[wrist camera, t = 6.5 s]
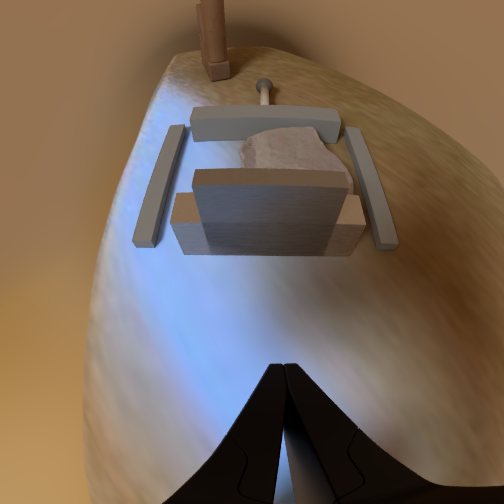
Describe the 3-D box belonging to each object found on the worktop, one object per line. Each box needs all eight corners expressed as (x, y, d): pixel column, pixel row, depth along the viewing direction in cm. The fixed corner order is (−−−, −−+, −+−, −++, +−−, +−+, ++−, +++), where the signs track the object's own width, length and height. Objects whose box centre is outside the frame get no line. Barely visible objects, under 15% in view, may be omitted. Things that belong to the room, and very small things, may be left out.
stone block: (270, 246, 28) (358, 209, 27) (260, 219, 23) (363, 178, 23) (235, 169, 34) (309, 142, 33) (224, 141, 29) (305, 112, 29)
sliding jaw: (349, 256, 25) (383, 190, 17) (183, 254, 25) (154, 187, 17) (344, 228, 26) (372, 160, 18) (188, 227, 26) (164, 157, 19)
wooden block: (219, 60, 47) (213, -15, 32) (231, 79, 42) (225, -13, 27) (202, 64, 47) (193, -13, 31) (210, 82, 42) (201, -10, 26)
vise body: (394, 249, 25) (409, 230, 22) (136, 247, 25) (122, 227, 22) (340, 97, 39) (343, 79, 36) (187, 95, 40) (184, 77, 37)
